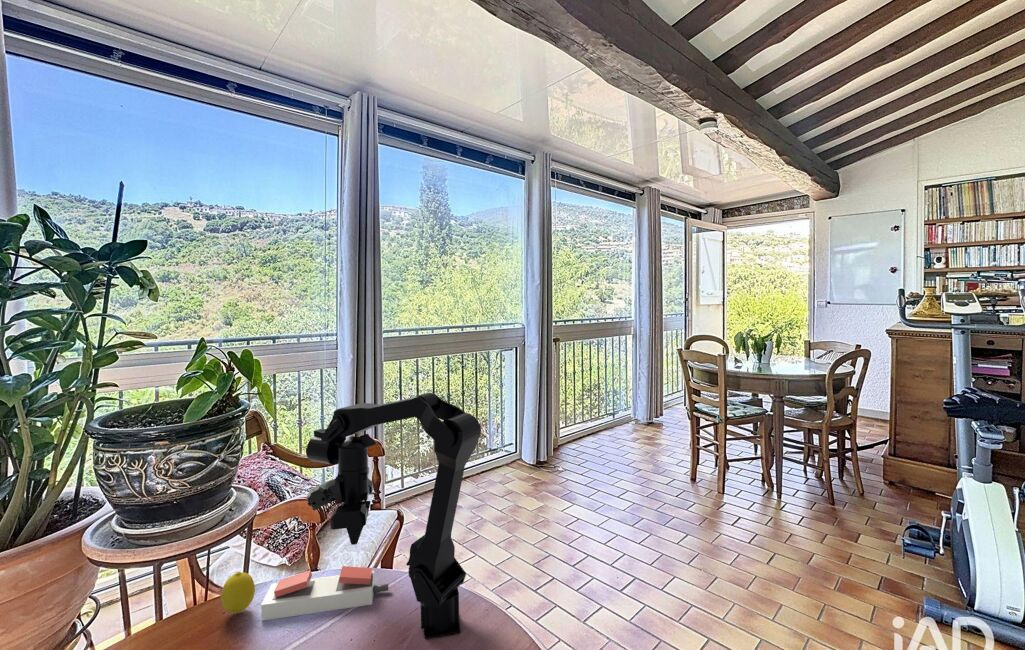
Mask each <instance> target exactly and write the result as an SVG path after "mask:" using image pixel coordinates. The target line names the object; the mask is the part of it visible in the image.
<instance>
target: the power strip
mask: <svg viewBox="0 0 1025 650" xmlns="http://www.w3.org/2000/svg"><path fill="white" fill-rule="evenodd" d="M339 578H340V574H337V575H329V576H322V577H315V578H311V580H310V583H309V585H308V587H306V588H303V589H300V590H297V591H294V592H291V593H288V594H285V595H282V596H279V597H276V598H275V594H274V590H275V588H276V586H277V584H278V582H276V583H275V582H274V583H271V584H270V587H269V588H268V591H267V593H266V595H265V597H264V598H263V600H262V602H261V604H260V608H261V609H260V610H261V620H260V621H262V622H263V621H267V620H276V619H281V618H288V617H294V616H295V617H296V616H303V615H309V614H316V613H323V612H329V611H337V610H344V609H351V608H356V607H357V608H358V607H364V606H370V605H373V599H374V594H375V593H380V592H388V591H389V583H384V584H377V585H375V570H372V573H371V579H370V584H369V585H366V584H350V583H339Z"/></svg>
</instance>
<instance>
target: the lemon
mask: <svg viewBox="0 0 1025 650" xmlns="http://www.w3.org/2000/svg"><path fill="white" fill-rule="evenodd" d="M255 591H256V585H255V582H254V580H253V577H252V575H250V574H249V573H247V572H243V571H242V572H241V571H237V572H236V573H234V574H232V575H231V576H229V578H227V579H226V581H225V582H224V585H223V586H222V589H221V598H220V600H221V604H222V607H223V608H224V610H225V611H227V612H228V613H232V614H234V613H235V614H237V615H239V614H241V613H242V612H243V611H245V610H246V609H247V608H248V607H249V606H250V605H251V603H252V601H253V599H254V598H255V597H254V596H255Z"/></svg>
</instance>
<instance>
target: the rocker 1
mask: <svg viewBox="0 0 1025 650" xmlns="http://www.w3.org/2000/svg"><path fill="white" fill-rule="evenodd" d="M312 577H313V574H312V570H311V569H310V570H306V571H303V572H301V573H298V574H294V575H291V576H289V577H288V576H287V577H286V578H282V579H279V580H278V582H277V583H278V584H277V586H276V588H275V590H274V594H275V598H276V597H279V596H282V595H285V594H288V593H291V592H294V591H297V590H300V589H303V588H306V587H308V585H309V583H310V580H311V579H312Z"/></svg>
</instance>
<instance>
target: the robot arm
mask: <svg viewBox="0 0 1025 650" xmlns="http://www.w3.org/2000/svg"><path fill="white" fill-rule="evenodd" d="M411 418H416V419H417V420H418V421H419V422H420V424H421V426H422V428H423V430H424V432H425V434H426V435H428V436H429V437H430V438H432V440H433V441H434V444H433V445H434V447H433V451H434V454H435V456H436V459H437V462H438V464H437V465H438V466H437V470H436V477H435V481H434V486H433V489H432V490H433V491H432V495H431V496H432V497H431V501H430V507H429V511H428V516H427V520H426V526H425V531H424V535H422V536H421V537H420V538H418V539H417V540H415V541H414V542H413V543H411V544H410V548H409V557H408V561H406V564H405V565H406V567H407V566H408V571H407V572H408V577H409V579H410V583H411V584H412V588H413V592H414V595H415V598H416V602H418V603H420V629H421V630H423V638H424V639H426V640H427V639H433V638H440V637H445V636H452V635H458V634H460V633H461V632H462V628H461V621H460V592H459V586H461V585H462V584H464V582H465V579H466V576H467V573H466V571H465V570H464V568H463V567H462V565H461V564H460V563H459V561H458V560H457V559H456V557H455V552H456V551H455V550H456V546H455V544H454V540H453V539H452V530H453V526H454V522H455V521H454V520H455V516H456V512H457V507H458V503H459V497H460V493H461V488H462V487H461V486H462V482H463V477H464V472H465V466H466V465H467V462H468V461H469V460H470V458H471V456H472V455H473V453H474V451H475V450H476V447H477V445H478V442H479V440H480V437H481V434H482V425H481V424H480V423H479V421H478V419H477V418H476V417H475V416H474V415H473V414H471V413H468V412H465V411H464V410H463V409H462V408H461V407H458V406H457V405H455V404H452V403H450V402H447V401H445V400H443V399H442V398H441V397H440V396H438V395H437V394H435V393H432V392H426V393H421V394H419V395H416V396H414V397H409V398H405V399H399V400H395V401H391V402H385V403H381V404H375V403H372V402H371V403H369V402H368V403H366V402H365V403H363V402H362V403H357V404H353V405H348V406H344V407H340V408H337V409H335V410H334V412H333V415H332V418H331V420H330V422H329V423H328V424H327V427H326V428H319V429H315V430H314V431H313V436H312V437H311V438H310V439H309V441H308V443H307V445H306V448H305V455H306V457H307V459H308V460H309V461H311V462H315V463H322V464H327V465H332V466H333V465H337V468H338V469H337V470H338V471H337V475H336V477H335V478H334V479H329V480H328V481H325V482H323V483H321V484H318V485H316V486H314V487H312V488H311V489H310V490H309V491H308V493H307V495H306V497H307V505H308V506H309V507H311V508H312V511H316V510H319V509H320V508H321V507H324V506H325V505H328V504H330V503H332V502H334V505H338V506H337V507H336V508H335V509H334V510H332V514H331V516H330V530H334V531H335V530H341V529H346V531H347V535H348V538H349V542H350V545H352V546H354V545H357V544H358V542H359V539H360V538H361V534H362V531H363V529H364V527H365V526H366V524H367V520H368V516H369V512H370V511H369V510H370V507H371V501H370V500H368V499H369V495H372V496H373V491H374V485H373V484H374V482H373V481H372V480H371V479H370V478H369V473H370V467H369V454H368V453H369V452H368V450H369V448H370V447H373V446H376V444H377V442H376V440H375V439H374V438H372V437H371V436H370V434H369V433H366V434H362V435H359V436H356V434H359V433H362V432H365V431H368V430H370V429H373V428H374V427H377V426H378V425H381V424H387V423H392V422H398V421H403V420H406V419H411ZM353 435H355V436H353Z"/></svg>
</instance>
